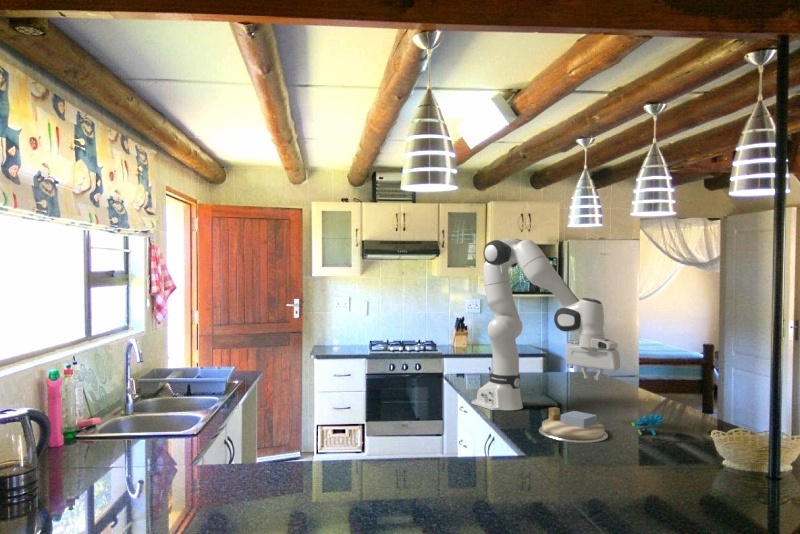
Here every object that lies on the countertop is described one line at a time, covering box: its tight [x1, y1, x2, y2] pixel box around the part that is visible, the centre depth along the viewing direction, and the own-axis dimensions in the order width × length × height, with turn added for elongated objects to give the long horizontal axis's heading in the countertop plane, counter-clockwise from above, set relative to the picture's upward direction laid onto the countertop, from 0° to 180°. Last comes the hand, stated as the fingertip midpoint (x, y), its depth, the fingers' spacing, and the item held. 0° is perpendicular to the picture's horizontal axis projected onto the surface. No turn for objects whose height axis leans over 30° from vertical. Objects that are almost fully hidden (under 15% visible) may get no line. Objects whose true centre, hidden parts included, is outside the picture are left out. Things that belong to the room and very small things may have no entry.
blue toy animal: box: [631, 413, 664, 436], centre depth 186 cm, size 11×6×10 cm
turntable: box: [541, 407, 606, 440], centre depth 187 cm, size 21×21×6 cm
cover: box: [560, 410, 598, 428], centre depth 189 cm, size 9×9×3 cm
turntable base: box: [538, 426, 609, 444], centre depth 187 cm, size 23×23×1 cm
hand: (592, 379), depth 196 cm, fingers open, 3 cm apart
